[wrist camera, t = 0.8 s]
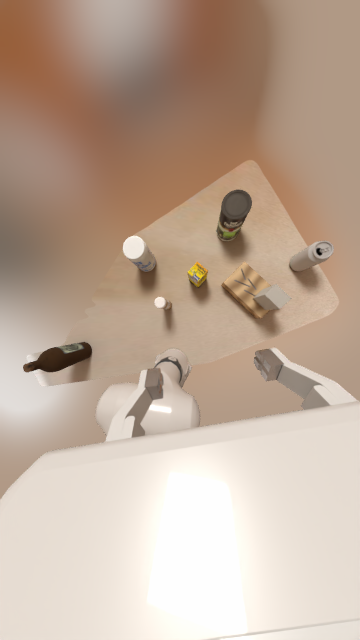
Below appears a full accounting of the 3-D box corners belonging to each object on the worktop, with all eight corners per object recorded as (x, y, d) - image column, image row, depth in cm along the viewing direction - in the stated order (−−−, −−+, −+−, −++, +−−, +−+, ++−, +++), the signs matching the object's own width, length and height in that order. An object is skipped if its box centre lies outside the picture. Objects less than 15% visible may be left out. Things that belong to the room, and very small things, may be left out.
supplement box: (206, 278, 62) (208, 270, 52) (198, 288, 63) (198, 282, 52) (197, 270, 63) (197, 261, 52) (189, 280, 64) (187, 272, 53)
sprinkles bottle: (164, 300, 66) (155, 296, 52) (172, 301, 65) (166, 297, 52) (162, 308, 66) (153, 307, 53) (171, 310, 65) (164, 309, 52)
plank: (276, 299, 58) (284, 297, 53) (255, 318, 60) (261, 318, 55) (240, 265, 60) (244, 261, 55) (221, 285, 61) (223, 282, 56)
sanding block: (274, 301, 54) (291, 298, 44) (264, 309, 55) (279, 308, 45) (261, 289, 54) (276, 284, 44) (252, 298, 55) (264, 294, 45)
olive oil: (90, 362, 73) (34, 386, 48) (74, 356, 74) (12, 376, 49) (95, 344, 72) (40, 359, 47) (78, 338, 73) (17, 350, 49)
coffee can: (238, 241, 60) (250, 218, 46) (215, 241, 61) (220, 219, 47) (240, 217, 59) (253, 188, 45) (217, 219, 61) (222, 190, 47)
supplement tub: (144, 275, 67) (129, 264, 52) (135, 260, 67) (117, 245, 53) (160, 264, 65) (149, 250, 51) (150, 249, 66) (136, 230, 51)
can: (285, 258, 57) (308, 244, 45) (303, 251, 56) (332, 234, 44) (291, 274, 57) (316, 264, 45) (310, 267, 56) (340, 255, 44)
